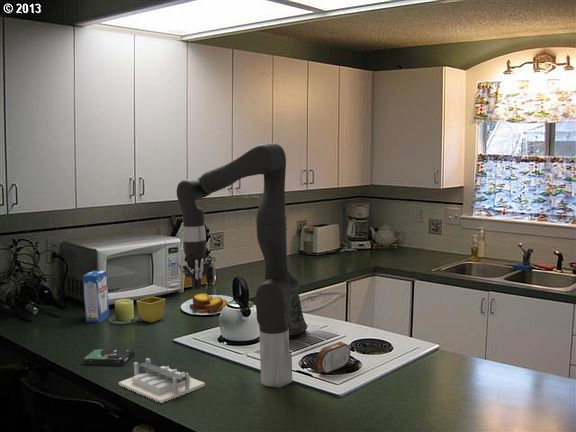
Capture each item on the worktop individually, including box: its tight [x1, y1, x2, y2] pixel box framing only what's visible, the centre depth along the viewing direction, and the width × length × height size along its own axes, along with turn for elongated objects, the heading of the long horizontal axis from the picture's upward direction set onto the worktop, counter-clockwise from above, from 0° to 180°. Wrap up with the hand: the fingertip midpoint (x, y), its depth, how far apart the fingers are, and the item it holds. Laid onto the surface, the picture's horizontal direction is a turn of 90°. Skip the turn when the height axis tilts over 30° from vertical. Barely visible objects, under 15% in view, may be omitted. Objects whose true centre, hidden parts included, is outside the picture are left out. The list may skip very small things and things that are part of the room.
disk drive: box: [82, 348, 135, 367], centre depth 230 cm, size 10×3×15 cm
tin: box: [315, 341, 351, 374], centre depth 215 cm, size 15×3×8 cm, turn 134°
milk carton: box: [82, 270, 110, 323], centre depth 278 cm, size 10×6×20 cm, turn 172°
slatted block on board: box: [118, 357, 206, 404], centre depth 205 cm, size 22×17×6 cm
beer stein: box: [284, 270, 307, 341], centre depth 250 cm, size 16×19×25 cm
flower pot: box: [136, 296, 166, 323], centre depth 274 cm, size 9×9×9 cm
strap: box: [139, 361, 186, 383], centre depth 205 cm, size 21×3×1 cm, turn 48°
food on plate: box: [180, 293, 234, 316], centre depth 290 cm, size 25×25×7 cm
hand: (197, 289), depth 219 cm, fingers closed
